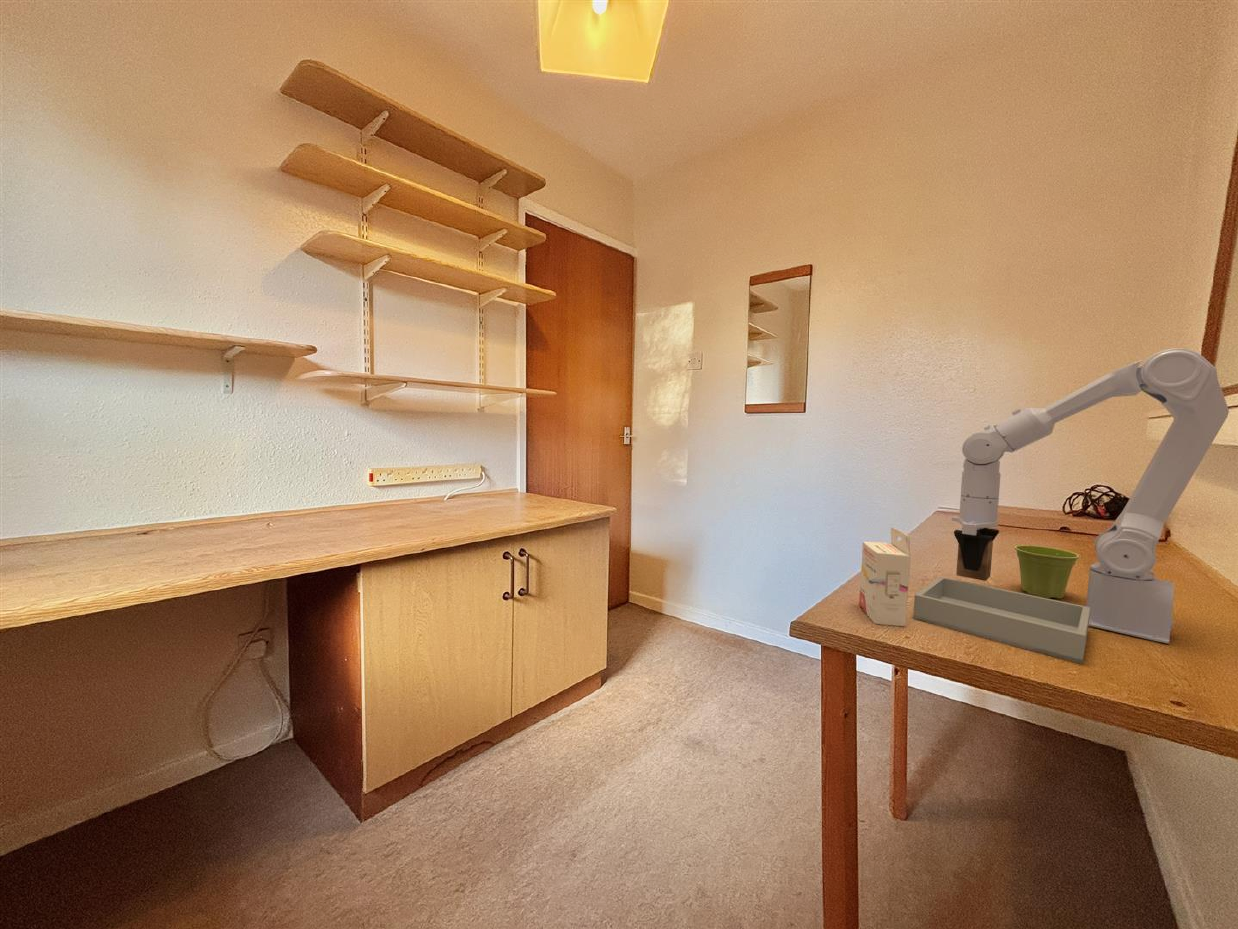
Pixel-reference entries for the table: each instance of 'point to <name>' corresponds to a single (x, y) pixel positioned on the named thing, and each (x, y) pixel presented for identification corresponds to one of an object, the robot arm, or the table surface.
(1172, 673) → the table surface
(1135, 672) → the table surface
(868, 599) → the ink cartridge box
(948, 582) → the tray bin
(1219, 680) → the table surface
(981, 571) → the walnut block
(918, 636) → the table surface
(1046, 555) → the plant pot
